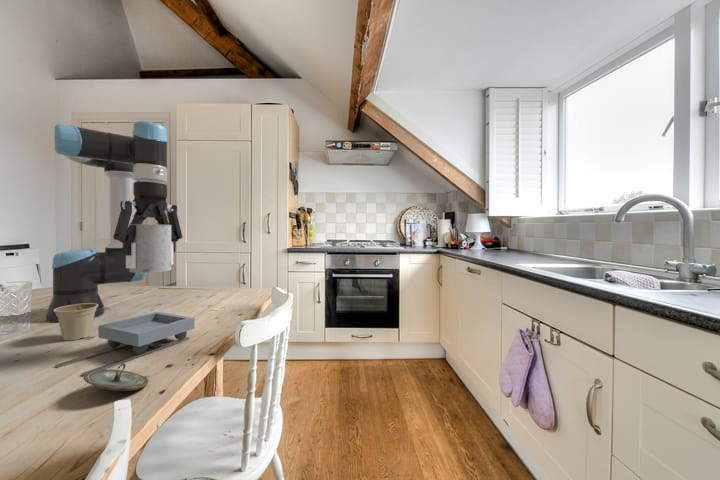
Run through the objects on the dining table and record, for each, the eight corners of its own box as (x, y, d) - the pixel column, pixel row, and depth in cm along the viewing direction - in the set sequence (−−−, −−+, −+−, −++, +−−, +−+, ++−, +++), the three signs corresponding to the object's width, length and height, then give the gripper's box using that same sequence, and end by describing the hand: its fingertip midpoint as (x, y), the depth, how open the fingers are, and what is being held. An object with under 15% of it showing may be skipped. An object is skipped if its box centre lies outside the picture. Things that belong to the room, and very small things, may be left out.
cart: (98, 348, 80) (98, 325, 80) (157, 330, 94) (157, 311, 94) (138, 358, 74) (138, 334, 74) (194, 338, 89) (194, 317, 88)
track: (54, 366, 70) (54, 365, 70) (161, 333, 93) (161, 332, 93) (84, 376, 66) (84, 374, 66) (188, 338, 89) (188, 337, 89)
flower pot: (51, 345, 83) (51, 313, 82) (55, 336, 90) (55, 306, 90) (98, 338, 89) (97, 308, 88) (98, 329, 96) (98, 301, 96)
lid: (79, 389, 61) (79, 364, 61) (140, 372, 68) (140, 350, 68) (88, 411, 54) (88, 382, 54) (155, 390, 61) (155, 364, 61)
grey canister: (150, 273, 79) (150, 224, 78) (119, 271, 81) (119, 223, 80) (179, 269, 88) (180, 225, 88) (151, 267, 90) (151, 224, 90)
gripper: (113, 174, 72) (114, 271, 73) (196, 187, 92) (196, 263, 93) (93, 176, 75) (94, 269, 75) (178, 188, 95) (178, 261, 96)
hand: (150, 266), depth 84 cm, fingers closed on grey canister, 9 cm apart
